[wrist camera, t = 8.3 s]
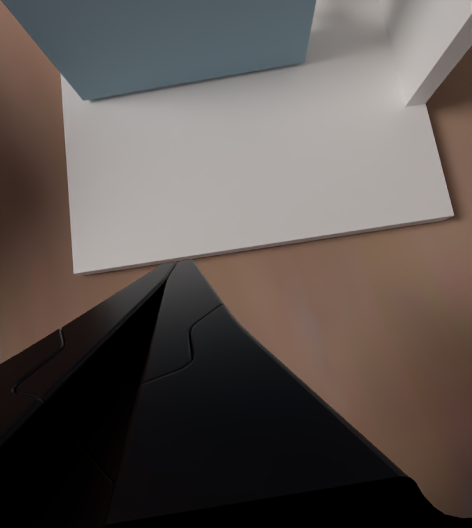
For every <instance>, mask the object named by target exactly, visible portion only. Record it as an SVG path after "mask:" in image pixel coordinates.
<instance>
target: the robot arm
mask: <svg viewBox="0 0 472 528" xmlns="http://www.w3.org/2000/svg"><path fill="white" fill-rule="evenodd" d="M0 528H472V518H459V517H454V516H450V515H445V514H443V513H442V512H441V511H439V510H438V509H436V508H435V507H434V506H433V505H432V504H431V503H430V502H429V501H428V500H427V499H426V498H425V497H424V495H423V494H422V492H421V491H420V489H419V487H418V485H417V484H416V482H415V481H414V480H413V479H411V478H410V477H409V476H407V475H406V474H405V473H404V472H403V471H402V470H401V469H399V468H398V467H397V466H396V465H395V464H394V463H393V462H392V461H391V460H389V459H388V458H387V457H386V456H385V455H384V454H383V453H382V452H381V451H379V450H378V449H377V448H376V447H375V446H374V445H373V444H372V443H371V442H369V441H368V440H367V439H366V438H365V437H364V436H363V435H362V434H361V433H359V432H358V431H357V430H356V429H355V428H354V427H353V426H352V425H351V424H349V423H348V422H347V421H346V420H345V419H344V418H343V417H342V416H341V415H339V414H338V413H337V412H336V411H335V410H334V409H333V408H332V407H331V406H329V405H328V404H327V403H326V402H325V401H324V400H323V399H322V398H321V397H319V396H318V395H317V394H316V393H315V392H314V391H313V390H312V389H311V388H309V387H308V386H307V385H306V384H305V383H304V382H303V381H302V380H301V379H299V378H298V377H297V376H296V375H295V374H294V373H293V372H292V371H291V370H289V369H288V368H287V367H286V366H285V365H284V364H283V363H282V362H281V361H279V360H278V359H277V358H276V357H275V356H274V355H273V354H272V353H271V352H269V351H268V350H267V349H266V348H265V347H264V346H263V345H262V344H261V343H259V342H258V341H257V340H256V339H255V338H254V337H253V336H252V335H251V334H250V333H249V332H248V331H246V330H245V329H244V328H243V327H242V326H241V325H240V324H239V322H238V321H237V320H236V319H235V318H234V316H233V315H232V314H231V313H230V311H229V310H228V308H227V307H226V306H225V305H224V303H223V302H222V301H221V299H220V298H219V296H218V295H217V293H216V292H215V291H214V289H213V288H212V286H211V285H210V283H209V282H208V281H207V279H206V278H205V276H204V275H203V273H202V272H201V271H200V269H199V268H198V266H197V265H196V264H195V262H194V261H193V260H186V261H180V262H178V263H176V262H172V263H166V264H162V265H160V266H159V267H157V268H155V269H154V270H152V271H151V272H149V273H147V274H146V275H144V276H143V277H141V278H140V279H138V280H136V281H135V282H133V283H132V284H130V285H128V286H127V287H125V288H124V289H122V290H121V291H119V292H117V293H116V294H114V295H113V296H111V297H109V298H108V299H106V300H105V301H103V302H101V303H100V304H98V305H97V306H95V307H94V308H92V309H90V310H89V311H87V312H86V313H84V314H82V315H81V316H79V317H78V318H76V319H75V320H73V321H71V322H70V323H68V324H67V325H65V326H63V327H62V330H61V329H58V330H56V331H54V332H53V333H51V334H50V335H48V336H46V337H45V338H43V339H42V340H40V341H38V342H37V343H35V344H33V345H32V346H30V347H28V348H27V349H25V350H23V351H22V352H20V353H19V354H17V355H15V356H13V357H12V358H10V359H8V360H6V361H5V362H3V363H1V364H0Z"/></svg>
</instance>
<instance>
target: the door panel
mask: <svg viewBox="0 0 472 528" xmlns="http://www.w3.org/2000/svg"><path fill="white" fill-rule="evenodd" d="M1 1H2V2H3V3H4V4H5V6H6V7H7V8H8V9H9V10H10V12H11V13H12V14H13V15H14V17H15V18H16V19H17V20H18V22H19V23H20V24H21V25H22V26H23V28H24V29H25V30H26V31H27V33H28V34H29V35H30V36H31V37H32V39H33V40H34V41H35V42H36V44H37V45H38V46H39V47H40V48H41V50H42V51H43V52H44V53H45V55H46V56H47V57H48V58H49V60H50V61H51V62H52V63H53V64H54V66H55V67H56V68H57V69H58V71H59V72H60V73H61V74H62V75H63V77H64V78H65V79H66V80H67V82H68V83H69V84H70V85H71V86H72V88H73V89H74V90H75V91H76V93H77V94H78V95H79V96H80V98H81V99H82V100H83V101H85V100H91V99H96V98H102V97H108V96H113V95H119V94H125V93H131V92H136V91H142V90H148V89H154V88H159V87H165V86H171V85H177V84H182V83H188V82H194V81H200V80H205V79H211V78H217V77H222V76H228V75H234V74H240V73H245V72H251V71H257V70H263V69H268V68H274V67H280V66H286V65H291V64H297V63H303V62H305V58H306V53H307V47H308V42H309V37H310V32H311V26H312V21H313V16H314V10H315V5H316V0H1Z"/></svg>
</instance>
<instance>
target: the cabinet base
mask: <svg viewBox="0 0 472 528" xmlns="http://www.w3.org/2000/svg"><path fill="white" fill-rule="evenodd" d="M471 46H472V0H316V5H315V10H314V16H313V21H312V26H311V32H310V37H309V42H308V47H307V53H306V58H305V62H303V63H297V64H291V65H286V66H280V67H274V68H268V69H263V70H257V71H251V72H245V73H240V74H234V75H228V76H222V77H217V78H211V79H205V80H200V81H194V82H188V83H182V84H177V85H171V86H165V87H159V88H154V89H148V90H142V91H136V92H131V93H125V94H119V95H113V96H108V97H102V98H96V99H91V100H85V101H83V100H82V99H81V98H80V96H79V95H78V94H77V93H76V91H75V90H74V89H73V88H72V86H71V85H70V84H69V83H68V82H67V80H66V79H65V78H64V77H63V75H62V74H61V87H62V102H63V117H64V132H65V147H66V162H67V177H68V193H69V208H70V223H71V238H72V253H73V268H74V274H78V275H82V276H83V275H90V274H96V273H103V272H109V271H116V270H123V269H129V268H136V267H142V266H149V265H155V264H162V263H168V262H175V261H182V260H188V259H195V258H201V257H208V256H214V255H221V254H228V253H234V252H241V251H247V250H254V249H260V248H267V247H273V246H280V245H287V244H293V243H300V242H306V241H313V240H319V239H326V238H332V237H339V236H346V235H352V234H359V233H365V232H372V231H378V230H385V229H392V228H398V227H405V226H411V225H418V224H424V223H431V222H437V221H444V220H446V219H448V218H450V217H452V216H454V213H453V209H452V205H451V201H450V197H449V193H448V189H447V185H446V182H445V178H444V174H443V170H442V166H441V162H440V158H439V154H438V150H437V146H436V142H435V138H434V135H433V131H432V127H431V123H430V119H429V115H428V111H427V107H426V102H427V101H428V100H429V98H430V97H431V96H432V95H433V93H434V92H435V91H436V90H437V88H438V87H439V86H440V85H441V83H442V82H443V81H444V80H445V78H446V77H447V76H448V75H449V73H450V72H451V71H452V70H453V68H454V67H455V66H456V65H457V63H458V62H459V61H460V60H461V58H462V57H463V56H464V55H465V53H466V52H467V51H468V50H469V48H470V47H471Z"/></svg>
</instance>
